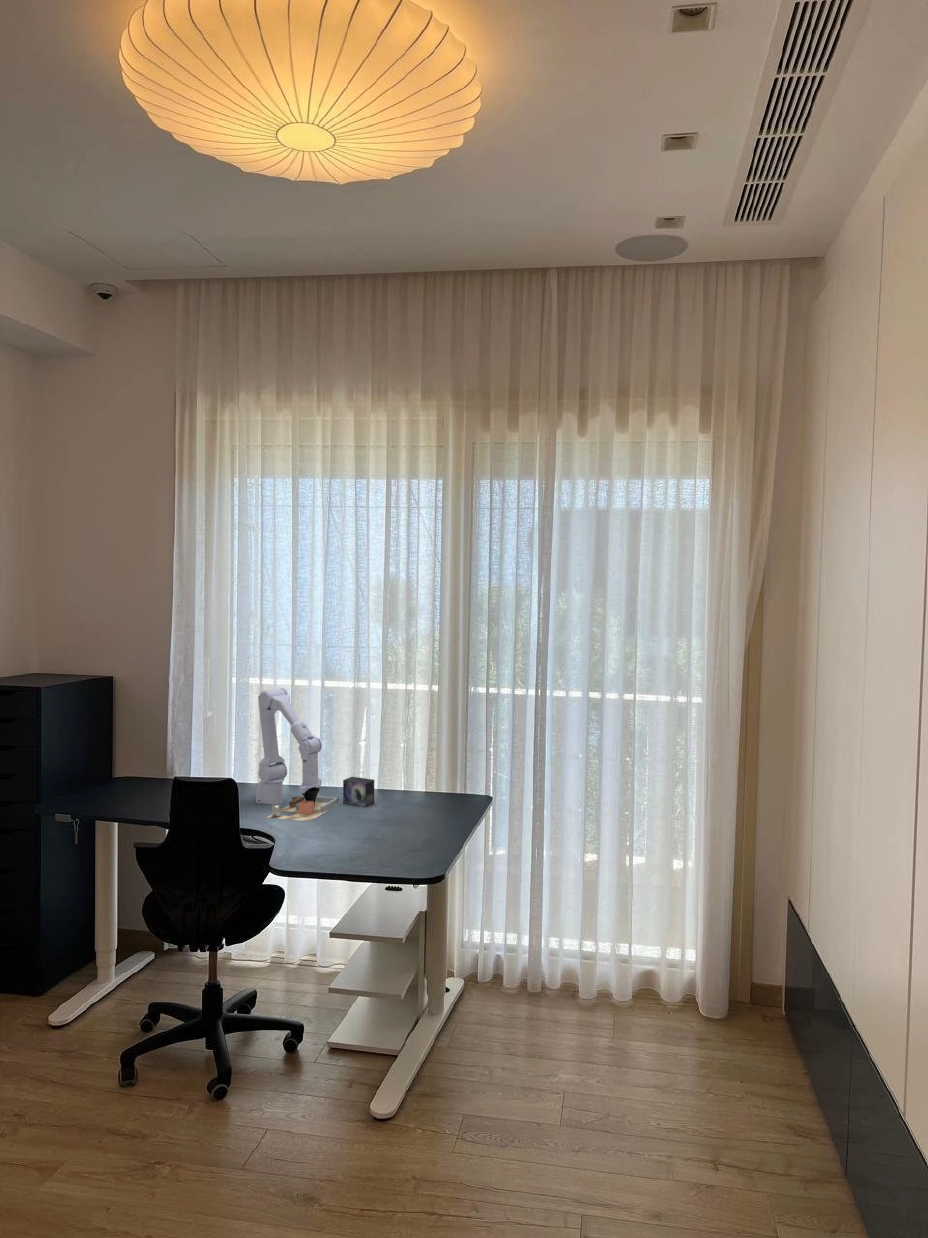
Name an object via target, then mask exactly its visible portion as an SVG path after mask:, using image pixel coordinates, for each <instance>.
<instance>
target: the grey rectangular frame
mask: <svg viewBox="0 0 928 1238" xmlns="http://www.w3.org/2000/svg"><path fill="white" fill-rule="evenodd" d="M339 800H340V799H339V797H333V796H321V795H317V797H316V801H315V802H322V803H326V804H325V805H323V806H321V812H325V811H326V810H328V809H330V808H331V807H333V806H335V805H336V804H338V803H340V802H339ZM301 802H302V801H301ZM338 805H339V804H338ZM336 806H337V805H336ZM336 806H335V807H336ZM333 808H334V807H333ZM331 809H332V808H331ZM331 809H330V810H331ZM296 810H299V803H298V804H296ZM328 811H329V810H328ZM326 812H327V811H326ZM326 812H325V813H326Z"/></svg>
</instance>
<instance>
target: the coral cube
mask: <svg viewBox="0 0 928 1238" xmlns="http://www.w3.org/2000/svg"><path fill="white" fill-rule="evenodd" d="M313 812H314V801H306V800H305V799H304V800H303V801H302V802H300V803H299V814H304V815H310V814H311V813H313Z"/></svg>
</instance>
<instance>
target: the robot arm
mask: <svg viewBox="0 0 928 1238" xmlns="http://www.w3.org/2000/svg"><path fill="white" fill-rule="evenodd" d="M257 701H258V709H259V720H260V729H261V736H262V739H261V740H262V747H263V755H264V757H263V758H262V759H261V760H260V762H259V763H258V778H259V782H258V783H257V785H256V791H255V795H256V797H255V798H256V802H255V803H257V804H263V805H277V804H278V805H280V804H282V803H283V801H284V794H283V793H284V792H283V791H284V788H283V787H284V785H283V783H284V781H285V778H286V777H287V775H288V767H287V765H286V762H285V758H283V756H280V753H279V752H280V750H279V744H278V743H279V742H278V735H277V726H276V725H277V724H276V717H275V714H276V713H277V712H278V711H280V713H281V714H282V716H283V717H284V718H285V720H286V721H287V722H288V723H289V724H290V732H291V733H292V735H293V737H294V738H295V740H296V741H297V744H298V745H299V746H298V751H299V754H300V758H301V762H302V765H301V766H302V768H301V769H302V773H301V776H302V780H301V781H302V783H301V785H300V786H299V788H298V794H302V797H304V800H306V801H314V805H315V801H316V797H317V796H318V794H319V792H320V787H321V786H322V778H319V753H320V752H321V750H322V742H321V740H320V738H319V737H317V736H315V735H314V734H312V732H311V731H310V729H309V728H308V726H307V724H306V723H305V722H304V721H301V720H300V719H299V718H298V716H297V714H296V712H295V709H294V708H293V706H292V704H291V702H290V701H291V696H290V695H289V693H288V690H287V689H285V688H276V689H270V690H269V689H268V690H262V691H261V692H260V694H259V695H258V696H257Z"/></svg>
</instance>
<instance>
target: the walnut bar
mask: <svg viewBox="0 0 928 1238" xmlns="http://www.w3.org/2000/svg"><path fill="white" fill-rule="evenodd" d="M303 800H305V798H304V796H297V795H293V797H292V800H290V801H289V805H290V807H296V804H298V803H300V802H301V801H303Z"/></svg>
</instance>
